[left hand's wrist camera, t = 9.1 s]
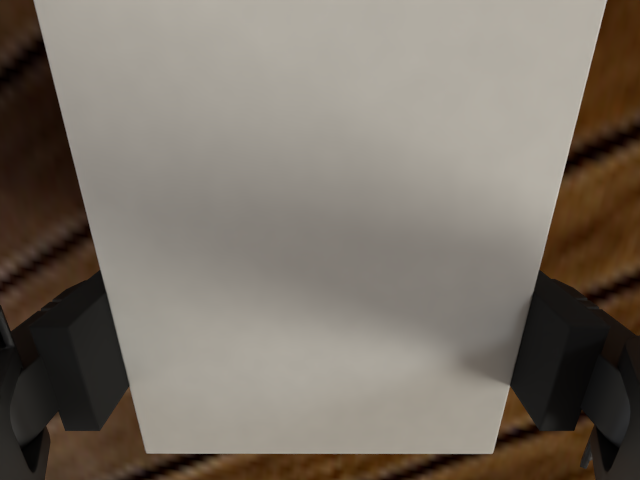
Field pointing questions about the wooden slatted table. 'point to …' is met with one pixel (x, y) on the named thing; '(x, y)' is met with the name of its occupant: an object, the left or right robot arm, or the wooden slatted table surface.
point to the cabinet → (319, 208)
